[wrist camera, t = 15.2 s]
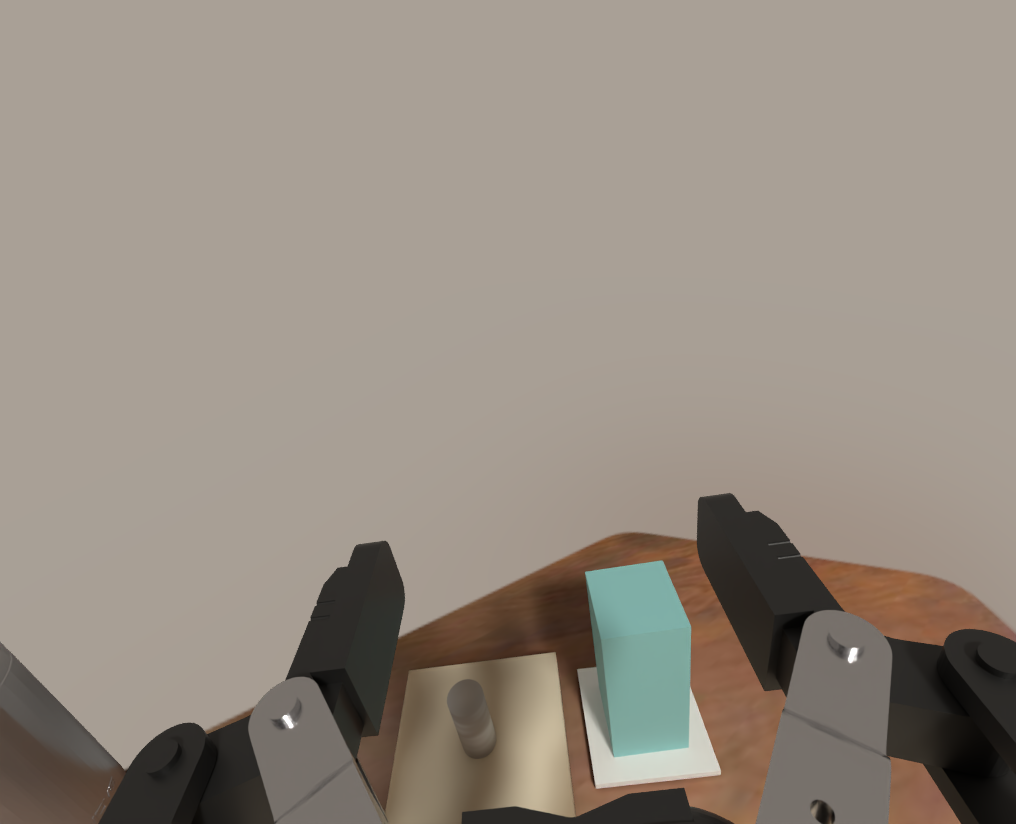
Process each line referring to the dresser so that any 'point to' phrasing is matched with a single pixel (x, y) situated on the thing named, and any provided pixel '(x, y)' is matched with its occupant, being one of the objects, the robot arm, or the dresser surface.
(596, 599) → the tall teal pillar
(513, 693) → the post stand
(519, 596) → the dresser surface
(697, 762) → the mat
